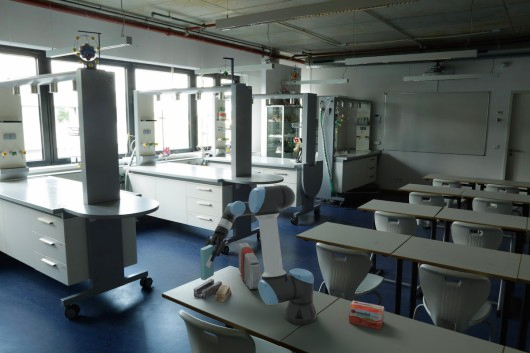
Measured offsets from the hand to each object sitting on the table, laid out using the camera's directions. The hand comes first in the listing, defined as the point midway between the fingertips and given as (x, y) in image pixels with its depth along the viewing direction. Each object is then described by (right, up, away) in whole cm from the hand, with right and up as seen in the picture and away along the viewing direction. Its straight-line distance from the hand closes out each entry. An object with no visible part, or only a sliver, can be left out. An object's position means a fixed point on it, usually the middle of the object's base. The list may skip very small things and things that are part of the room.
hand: (204, 265), depth 216 cm
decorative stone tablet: (+23, -13, +15) cm, 31 cm away
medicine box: (+80, -21, -26) cm, 87 cm away
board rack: (+1, -15, +3) cm, 16 cm away
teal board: (+1, -7, +3) cm, 7 cm away
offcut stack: (+10, -16, -2) cm, 19 cm away
